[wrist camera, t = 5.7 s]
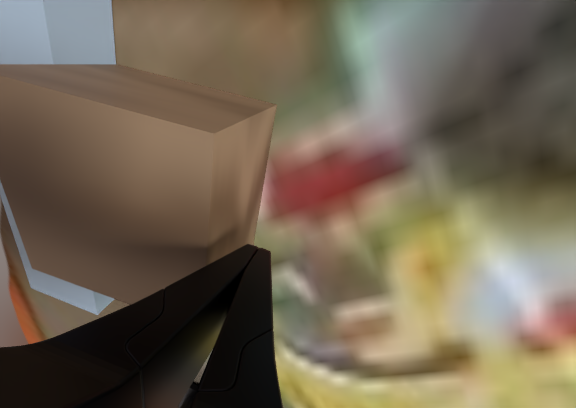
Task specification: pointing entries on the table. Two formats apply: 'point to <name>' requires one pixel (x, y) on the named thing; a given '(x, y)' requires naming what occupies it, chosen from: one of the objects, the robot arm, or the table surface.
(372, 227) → the table surface
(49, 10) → the pale grey long bar
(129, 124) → the block
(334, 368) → the table surface
